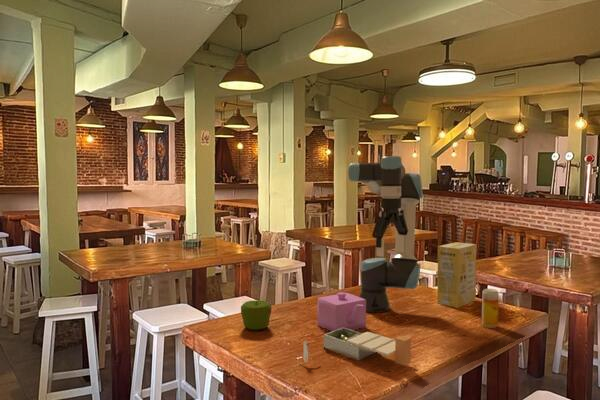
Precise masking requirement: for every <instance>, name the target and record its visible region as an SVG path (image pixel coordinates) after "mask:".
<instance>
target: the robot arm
mask: <svg viewBox="0 0 600 400" xmlns="http://www.w3.org/2000/svg"><path fill="white" fill-rule="evenodd" d="M347 171H348V172H347V174H348V175H347V176H348V180H349V181H350V182H356V183H357V182H361V183H362V184H364V186H366V187H367V189H368V190H369V192H371V193H373V194H375V195H377V196H380V197H381V198H380V208H381V209H383V210H381V211H379V210H378V211H377V217H376V221H375V224H374V227H373V231H372V235H371V237H372V238H373V239H375V241H376V242H375V246H376V257H372V258H367V259H364V260H363V261H361V266H360V292H359V293H360V294H359V296H358V297H360V298H363V299H366V313H385V312H388V311H390V309H391V303H390V301H389V297H388V293H387V288H392V289H393V288H394V289H404V290H407V289H408V290H415V289H416V288H417V286H418V284H419V280H420V275H421V263H418V259H417V258H416V256H415V243H416V242H415V240H416V239H415V237H416V236H415V235H416V234H415V233H416V208H417V205H418V204H419V203H420V199H422V198H423V195H424V194H423V185H422V178H421V175H420V174H419V173H411V172H408V173H407V172H406V169H405V166H404V165H403V161H402V157H401V156H398V155H389V156H387V155H386V156H384V155H383V156H382V157H381V162H351V163H350V164H349V165H348V170H347ZM391 223H392V224H393V225H394V228H395V244H394V245H395V246H394V247H395V249H394V255H393V256H392V257H391V260H390V261H387V258H385V239H384V235H385V233H386V231H387V229H388V228H389V227H388V226H389V225H390V224H391Z"/></svg>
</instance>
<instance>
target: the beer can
mask: <svg viewBox="0 0 600 400" xmlns="http://www.w3.org/2000/svg"><path fill="white" fill-rule="evenodd" d="M481 300H482V303H481V324H482V326H483V327H485V328H487V329H496V328H497V327H498V326H499V292H498V290H497V289H495V288H483V290H482V296H481Z"/></svg>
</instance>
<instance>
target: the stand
mask: <svg viewBox="0 0 600 400" xmlns="http://www.w3.org/2000/svg"><path fill="white" fill-rule="evenodd" d="M309 346H310V345H309V342H308V341H307V340H304V341H303V359H304V362H308V359H309Z"/></svg>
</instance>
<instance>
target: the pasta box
mask: <svg viewBox="0 0 600 400" xmlns="http://www.w3.org/2000/svg"><path fill="white" fill-rule="evenodd" d="M476 270H477V244H475V243H467V242H459V241H457V242H456V241H455V242H451V243H447V244H442V245H437V294H436V296H437V299H436V301H437V302H436V303H437V304H438V305H442V306H447V307H451V308H457V309H459V308H461V307H463V306H466V305H468V304H470V303H472V302H475V301H476V292H477V291H476V289H477V288H476V283H477V282H476V281H477V280H476V279H477V271H476ZM458 307H459V308H458Z"/></svg>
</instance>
